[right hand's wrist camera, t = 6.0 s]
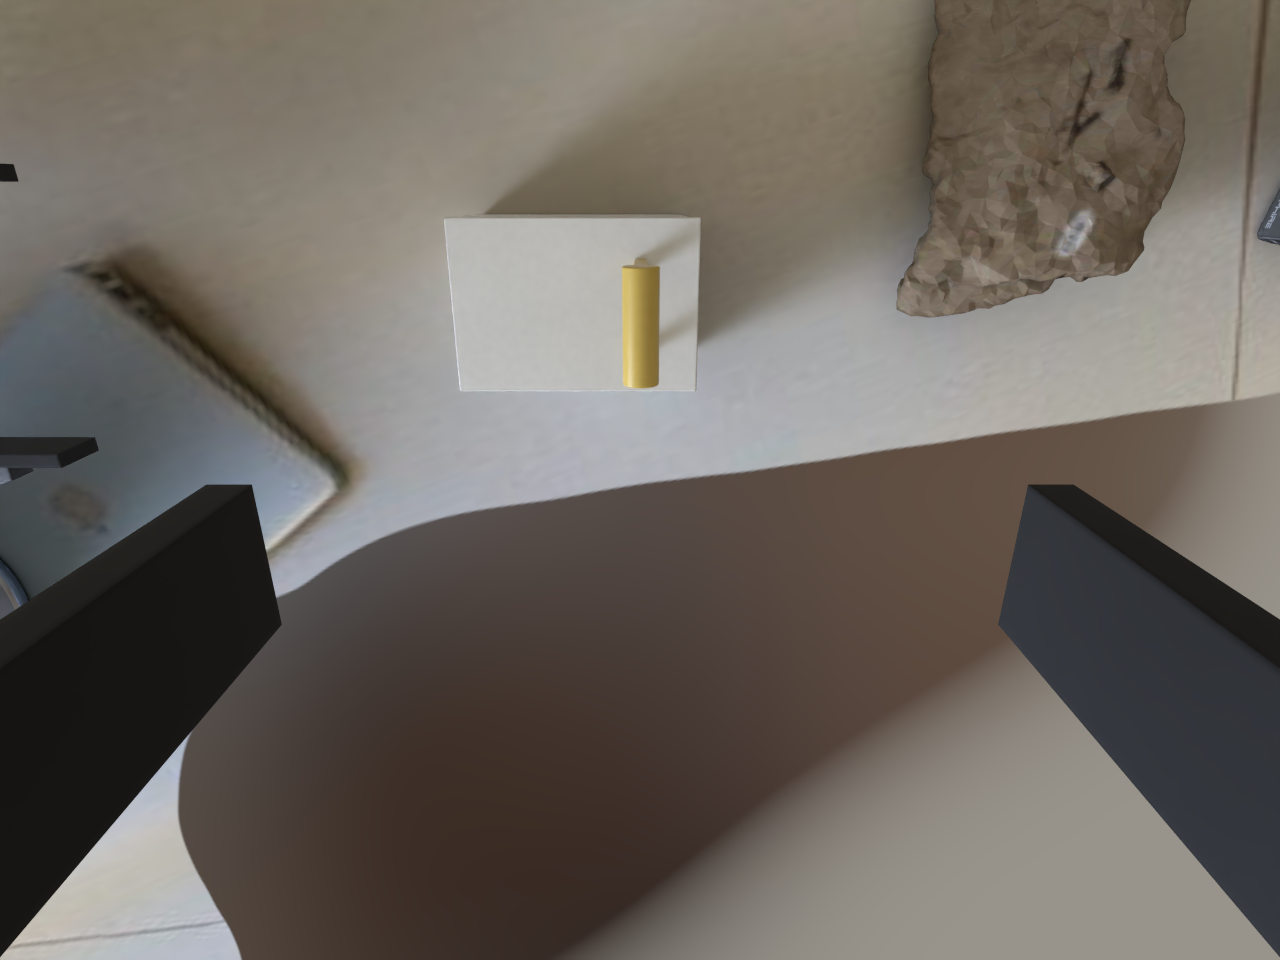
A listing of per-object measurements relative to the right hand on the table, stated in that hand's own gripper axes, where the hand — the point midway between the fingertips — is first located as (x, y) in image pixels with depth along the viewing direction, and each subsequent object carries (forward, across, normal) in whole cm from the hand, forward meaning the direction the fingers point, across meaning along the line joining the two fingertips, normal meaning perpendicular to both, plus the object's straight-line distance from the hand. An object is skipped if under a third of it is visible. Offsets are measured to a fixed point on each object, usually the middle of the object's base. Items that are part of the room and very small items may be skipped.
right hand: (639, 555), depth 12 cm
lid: (+31, -4, 0) cm, 32 cm away
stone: (+41, +24, +9) cm, 48 cm away
